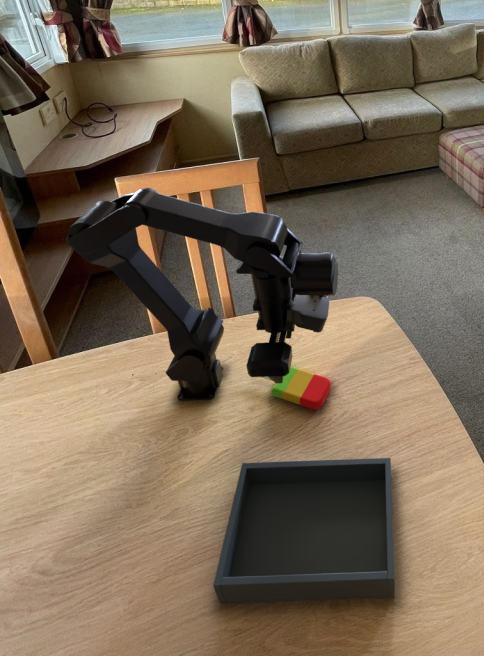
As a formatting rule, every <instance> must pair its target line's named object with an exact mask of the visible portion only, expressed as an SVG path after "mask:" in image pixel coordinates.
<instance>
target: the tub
mask: <svg viewBox="0 0 484 656" xmlns="http://www.w3.org/2000/svg"><path fill="white" fill-rule="evenodd" d="M392 490H393V489H392V460H391V457H371V458H344V459H317V460H316V459H315V460H314V459H313V460H290V461H286V460H285V461H264V462H262V461H261V462H258V461H257V462H242V463H241V467H240V471H239V476H238V480H237V485H236V488H235V491H234V492H235V493H234V496H233V501H232V505H231V510H230V513H229V517H228V522H227V527H226V531H225V534H224V538H223V543H222V547H221V552H220V556H219V560H218V564H217V568H216V572H215V577H214V581H213V589H214V592H215V594H216V597H217V600H218V603H219V605H237V604H238V605H239V604H259V603H260V604H262V603H290V602H292V603H293V602H313V601H315V602H316V601H343V600H344V601H345V600H367V599H369V600H370V599H394V598H396V589H395V588H396V587H395V585H396V582H395V557H394V554H395V553H394V551H395V550H394V520H393V519H394V518H393V493H392V492H393V491H392Z"/></svg>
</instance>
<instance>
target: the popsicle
mask: <svg viewBox="0 0 484 656" xmlns="http://www.w3.org/2000/svg"><path fill="white" fill-rule="evenodd" d="M261 378H262V379H265V380H268V381H272V380H271V379H270V378H268V377H261ZM272 382H273V381H272ZM331 387H332V384H331V380H330V379H329V378H327V377H325V376H322V375H319V374H317V373H313V372H310V371H306V370H303V369H300V368H297V367H294V366H291V367H290V372H289V373H288V374H287V375H286V376H283V382H282V383H275V384H274V386H273V387H272V389H271V391H270V392H271V395H272V396H273V397H276V398H279V399H282V400H285V401H287V402H290V403H293V404H296V405H299V406H301V407H304V408H308V409H311V410H319V409H320V408H322V406H323V405H324V403H325V401H326V399H327V397H328V395H329V393H330V391H331Z"/></svg>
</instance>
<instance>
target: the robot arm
mask: <svg viewBox="0 0 484 656" xmlns="http://www.w3.org/2000/svg"><path fill="white" fill-rule="evenodd" d="M141 226H145V227H148V228H152V229H156V230H159V231H164V232H167V233H172V234H175V235H178V236H182V237H185V238H189V239H193V240H195V241H200V242H204V243H208V244H212V245H214V246H218V247H220V248H223V249H225V251H227V253H228V254H229V255H230V256H231V257H232V258H233V259H234V260H237V261H240V262H239V264H238V266H237V268H236V270H235V272H236V274H237V275H250V276H251V282H252V287H253V294H254V300H253V304H252V311H253V312H257V315H258V318H257V322H256V325H255V327H256V331H265V332H266V333H268V334H270V335H269V339H268V342H256V343H255V344H253V345H252V346H251V347H250V351H249V355H248V358H247V362H246V370H247V375H248V376H249V377H250V378H262V377H268V378H270V379H271V380H272V382H274V383H275V384H276V383H282V382H283V376H286V375H287V374H288V373H289V372H290V367H292V361H293V347H292V345H291V344H289V343H288V342H286V340H287V339H289V340H290V339H292V334H293V332H295V330H296V328H300V329H304V330H308V331H312V332H313V333H321V332H323V331H324V327H325V325H326V323H327V320H328V317H329V310H330V300H329V296H330V297H331V296H332V297H334V296H336V294H337V290H338V283H339V281H338V279H339V264H338V261H337V259H336V257H334V253H333V252H321V253H310V252H309V253H307V252H305V253H303V252H302V248H303V246H304V245H303V244H304V243H303V242H302V241H301V240H300V238H298V236H296V235H295V233H293V232H292V230H290V228H288V227H287V224H286V223H285V222H284V220H283V218H281V217H280V216H279V215H276V214H272V213H266V212H257V211H246V212H240V213H232V212H228V211H223V210H219V209H216V208H212V207H209V206H205V205H202V204H198V203H196V202H195V203H194V202H190V201H188V200H184V199H180V198H176V197H173V196H169V195H166V194H163V193H159V192H158V191H157V190H156V189H153V188H151V187H144V188H140V189H138V190H137V191H135V192H131V193H125V194H122V195H120V196H119V197H116V198H114V199H113V200H110V201H109V200H100V201H97V202H95V203H94V204H93V205H92V206H91V207H90V208H89V209H88V210H86V211H85V212H84V213H83V214H82V215H81V216H80V217H79V218H78V219H77V220H76V221H75V222H73V224H72V225H71V226H69V228H68V230H67V234H66V235H67V237H65V238H66V243H67V244H68V245H69V246H70V247H71V249H72V250H74V251H75V252H76V253H77V254H78V255H79V256H81V257H82V258H83V259H84V260H86V261H87V262H88V263H90V264H92V265H97V266H101V267H105V268H109V269H110V270H111V271H112V272H113V273H114V274H115V275H116V276H117V277H118V278H119V280H120V281H121V282H122V283H123V284H124V285H125V286H126V287H127V288H128V290H130V292H131V293H132V294H133V295H134V296H135V297H136V298H137V299H138V301H140V302H141V304H142V305H143V306H144V307H145V308H146V309H147V310H148V311H149V312H150V313H151V315H152V316H153V317H154V318H155V319H156V320H157V321H158V322H159V323H160V324H161V325H162V327H163V328H164V329H165V330H166V333H167V339H168V344H169V349H170V351H171V353H172V354H173V358H172V359H171V362H170V364H169V365H168V367H167V369H166V371H165V374H166V376H167V377H168V379H170V380H171V381H173V382H177V383H178V386H179V391H178V394H177V396H176V399H177V401H179V402H181V401H182V402H185V401H209V400H214V399H215V397H216V394H217V393H218V388H220V386H221V383H222V380H223V377H224V371H225V369H224V366H222V365H221V361H220V359H219V358H218V359H217V354H216V352H217V350H218V347H219V345H220V343H221V341H222V338H223V336H224V331H225V327H224V325H223V323H224V319H221V318H220V317H218V316H217V314H216V313H215V310H214V309H213V308H212V307H207V308H205V309H201V308H196V307H193V306H192V305H191V304H190V303H189V302H188V300H187V299H185V297H184V296H183V295H182V293H181V292H180V291H179V290H178V289H177V288H176V286H174V285H173V283H172V282H171V281H170V280H169V278H167V276H166V275H165V274H164V273H163V272H162V271H161V269H160V268H159V267H158V266H157V265H156V264H155V263H154V262H153V260H152V259H151V257H149V255H148V254H147V253H146V251H144V249H143V248H142V247H141V246H140V244H139V238H138V231H137V228H139V227H141ZM284 246H286V247H285V249H284ZM283 249H284V253H283V256H281V255H282V251H283ZM271 380H270V381H271Z"/></svg>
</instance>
